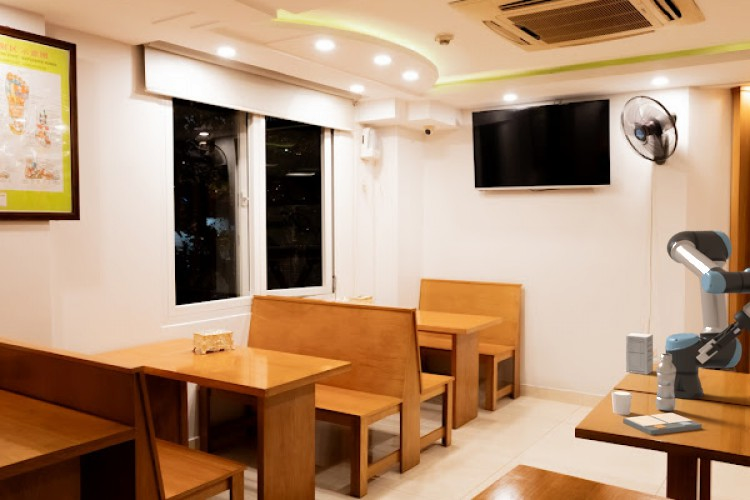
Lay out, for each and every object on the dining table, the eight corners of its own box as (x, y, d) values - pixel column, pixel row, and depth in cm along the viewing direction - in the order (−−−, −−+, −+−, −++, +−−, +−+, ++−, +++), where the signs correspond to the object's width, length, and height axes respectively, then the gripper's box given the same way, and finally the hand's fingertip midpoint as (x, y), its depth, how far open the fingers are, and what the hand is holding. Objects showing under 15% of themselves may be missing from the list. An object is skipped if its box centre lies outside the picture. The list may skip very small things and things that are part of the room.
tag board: (671, 417, 218) (671, 412, 218) (701, 428, 206) (701, 423, 205) (623, 422, 212) (623, 417, 212) (650, 435, 200) (650, 429, 200)
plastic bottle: (651, 407, 229) (652, 353, 228) (669, 407, 230) (670, 352, 229) (661, 413, 223) (661, 356, 222) (679, 412, 223) (680, 356, 223)
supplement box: (653, 371, 286) (654, 334, 286) (647, 375, 279) (648, 337, 279) (631, 368, 292) (632, 332, 292) (625, 372, 285) (625, 334, 285)
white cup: (633, 415, 220) (633, 396, 219) (612, 414, 221) (613, 395, 221) (629, 410, 226) (630, 390, 226) (609, 409, 228) (609, 390, 228)
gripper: (761, 330, 200) (707, 372, 208) (759, 320, 222) (710, 359, 230) (742, 312, 202) (689, 354, 210) (741, 304, 224) (693, 343, 232)
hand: (700, 357), depth 220 cm, fingers open, 13 cm apart
